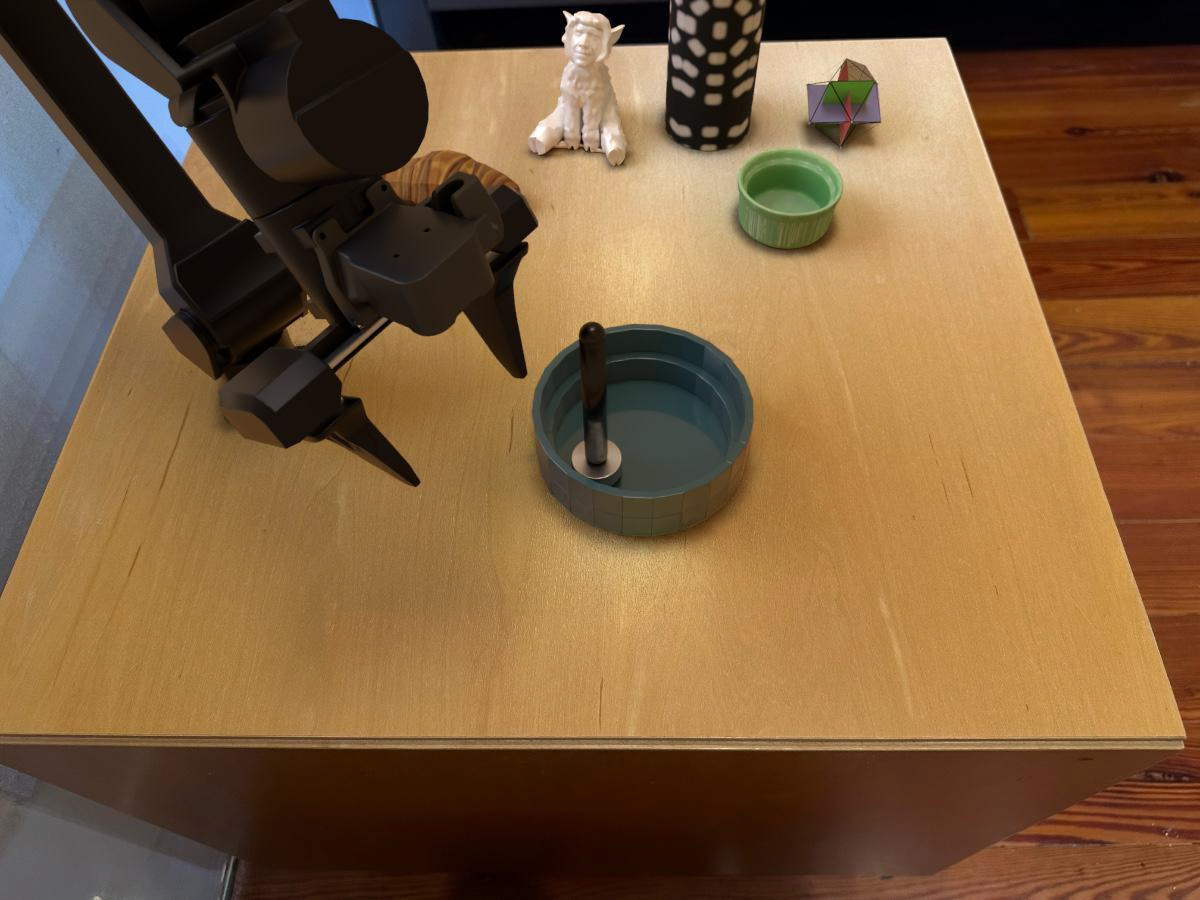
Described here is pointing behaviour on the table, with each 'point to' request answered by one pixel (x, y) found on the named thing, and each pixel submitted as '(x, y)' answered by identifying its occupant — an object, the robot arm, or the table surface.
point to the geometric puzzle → (845, 99)
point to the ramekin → (788, 197)
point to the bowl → (648, 430)
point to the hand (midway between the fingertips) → (470, 428)
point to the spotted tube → (712, 70)
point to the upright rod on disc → (595, 411)
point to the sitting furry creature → (585, 93)
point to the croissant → (439, 174)
